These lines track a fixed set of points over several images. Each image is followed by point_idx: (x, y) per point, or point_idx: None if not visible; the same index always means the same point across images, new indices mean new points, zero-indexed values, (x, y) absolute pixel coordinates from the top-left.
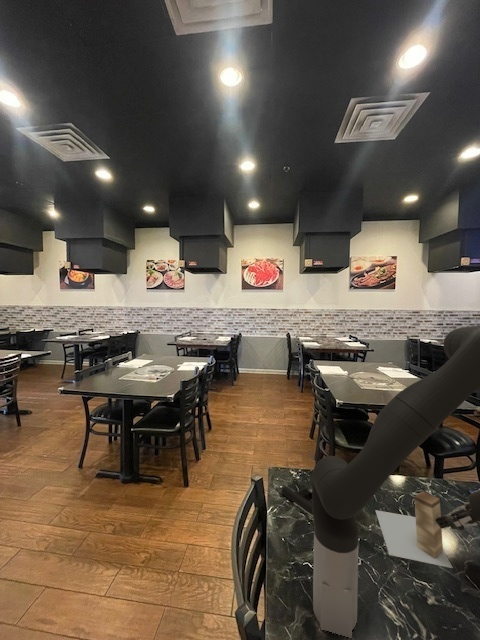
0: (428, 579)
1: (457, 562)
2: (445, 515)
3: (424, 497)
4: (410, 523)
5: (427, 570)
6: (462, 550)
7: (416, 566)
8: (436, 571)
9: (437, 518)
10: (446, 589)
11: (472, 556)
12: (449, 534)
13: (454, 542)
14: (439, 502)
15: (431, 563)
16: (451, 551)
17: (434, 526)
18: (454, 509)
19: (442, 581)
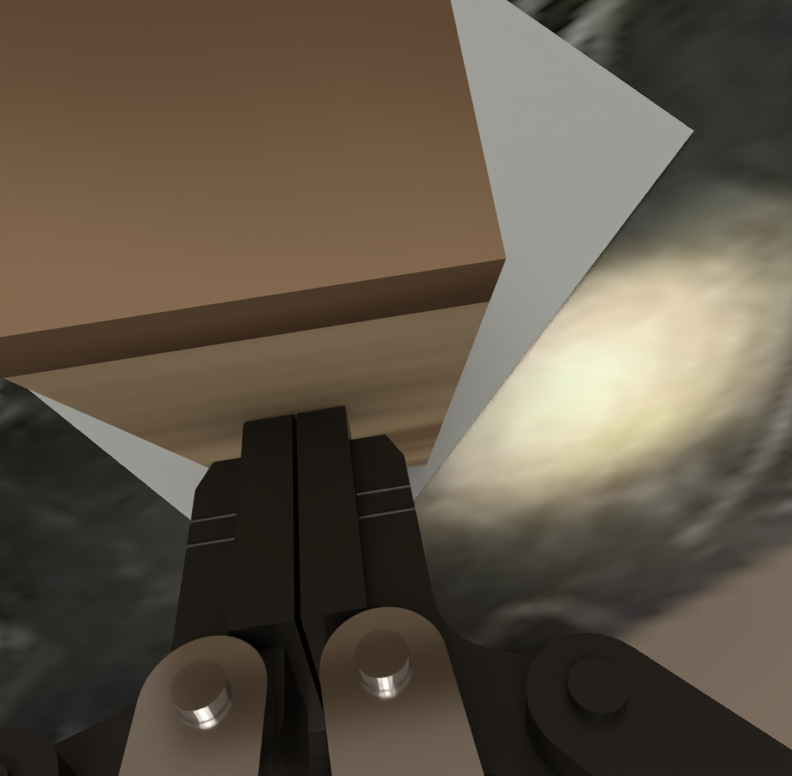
0: (13, 592)
1: (452, 583)
2: (311, 563)
3: (130, 24)
4: (477, 111)
5: (99, 529)
6: (646, 516)
7: (48, 462)
8: (165, 568)
9: (255, 441)
10: (59, 720)
11: (664, 597)
12: (731, 344)
13: (673, 425)
14: (456, 305)
15: (181, 509)
16: (531, 482)
17: (211, 445)
18: (575, 671)
19: (109, 655)
